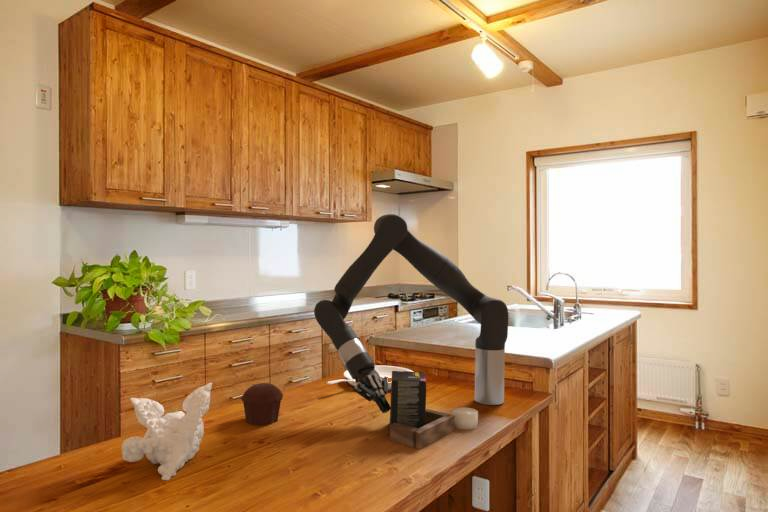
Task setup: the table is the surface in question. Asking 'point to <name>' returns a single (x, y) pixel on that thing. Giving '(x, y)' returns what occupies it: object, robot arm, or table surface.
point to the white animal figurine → (168, 432)
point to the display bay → (424, 430)
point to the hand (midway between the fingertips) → (387, 411)
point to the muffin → (262, 404)
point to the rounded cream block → (465, 418)
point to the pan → (381, 370)
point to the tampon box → (408, 398)
